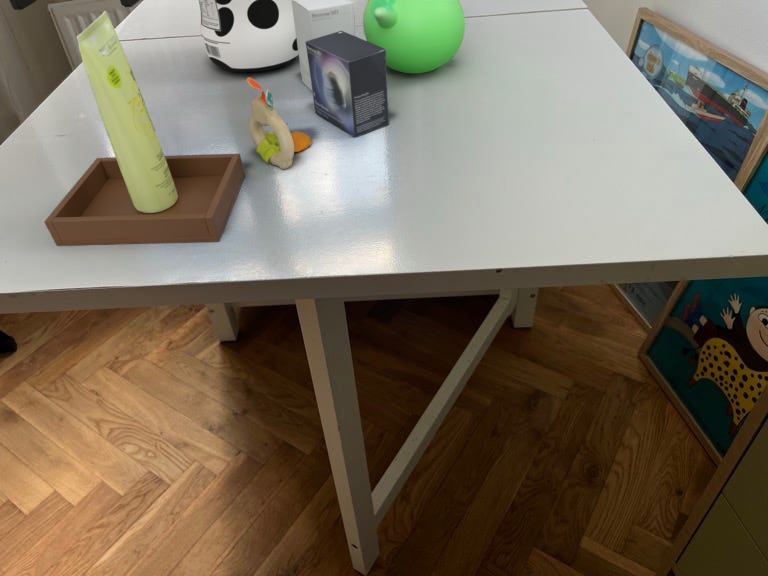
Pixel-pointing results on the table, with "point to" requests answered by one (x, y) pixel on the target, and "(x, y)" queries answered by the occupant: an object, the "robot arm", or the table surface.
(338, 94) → the small box
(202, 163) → the tray
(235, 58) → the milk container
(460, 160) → the table surface
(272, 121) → the rattle
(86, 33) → the tube
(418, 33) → the toy bird
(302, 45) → the white packaging box
